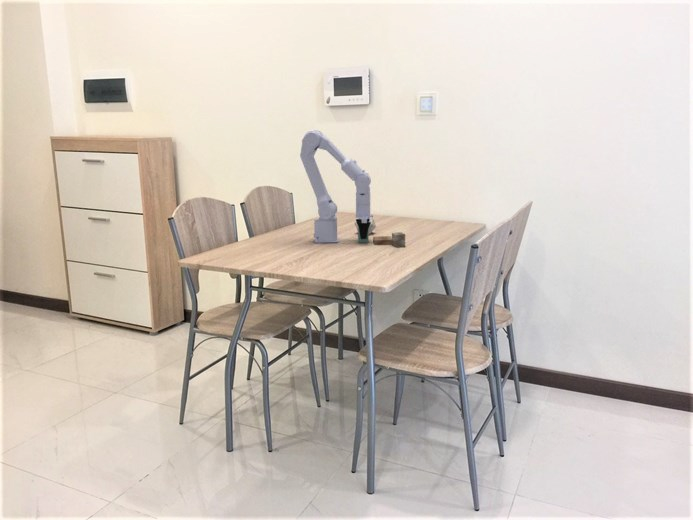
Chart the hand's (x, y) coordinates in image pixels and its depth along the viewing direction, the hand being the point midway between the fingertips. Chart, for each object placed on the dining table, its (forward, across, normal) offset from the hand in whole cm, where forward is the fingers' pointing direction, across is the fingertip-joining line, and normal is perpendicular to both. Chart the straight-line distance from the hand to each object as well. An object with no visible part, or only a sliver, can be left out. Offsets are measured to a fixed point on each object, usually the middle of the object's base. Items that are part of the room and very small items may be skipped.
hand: (363, 237), depth 234 cm
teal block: (+1, 0, 0) cm, 1 cm away
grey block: (+2, -10, -13) cm, 16 cm away
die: (+2, +16, -2) cm, 17 cm away
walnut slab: (+2, -4, -8) cm, 9 cm away
